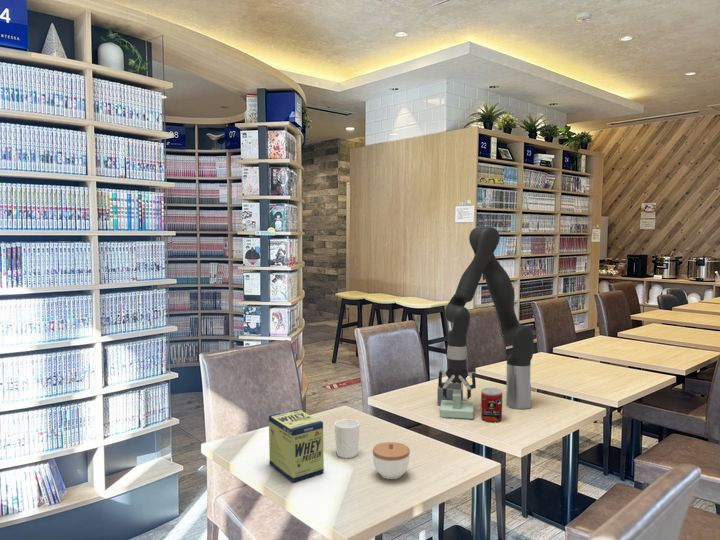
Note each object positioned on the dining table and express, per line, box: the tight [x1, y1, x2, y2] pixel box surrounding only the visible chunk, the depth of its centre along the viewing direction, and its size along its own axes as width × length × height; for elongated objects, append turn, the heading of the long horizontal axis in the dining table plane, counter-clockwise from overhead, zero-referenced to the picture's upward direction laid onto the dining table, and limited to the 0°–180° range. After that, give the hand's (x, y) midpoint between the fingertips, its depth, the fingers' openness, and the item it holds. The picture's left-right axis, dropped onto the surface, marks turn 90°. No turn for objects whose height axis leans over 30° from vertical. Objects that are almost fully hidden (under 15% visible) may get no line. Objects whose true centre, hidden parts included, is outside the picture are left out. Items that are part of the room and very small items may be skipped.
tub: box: [436, 381, 464, 407], centre depth 220 cm, size 10×10×7 cm
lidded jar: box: [372, 441, 410, 480], centre depth 155 cm, size 11×11×9 cm
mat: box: [441, 417, 473, 421], centre depth 207 cm, size 12×12×1 cm
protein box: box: [268, 408, 325, 484], centre depth 159 cm, size 10×16×16 cm
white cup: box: [334, 418, 360, 459], centre depth 170 cm, size 8×8×10 cm
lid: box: [439, 390, 474, 420], centre depth 207 cm, size 12×12×8 cm
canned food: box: [480, 387, 503, 423], centre depth 200 cm, size 8×8×11 cm
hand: (456, 398), depth 207 cm, fingers open, 8 cm apart
